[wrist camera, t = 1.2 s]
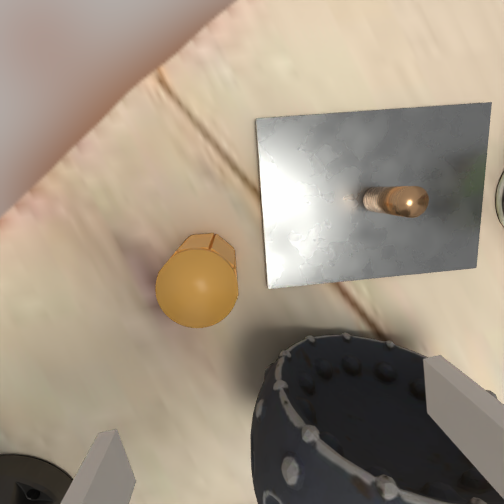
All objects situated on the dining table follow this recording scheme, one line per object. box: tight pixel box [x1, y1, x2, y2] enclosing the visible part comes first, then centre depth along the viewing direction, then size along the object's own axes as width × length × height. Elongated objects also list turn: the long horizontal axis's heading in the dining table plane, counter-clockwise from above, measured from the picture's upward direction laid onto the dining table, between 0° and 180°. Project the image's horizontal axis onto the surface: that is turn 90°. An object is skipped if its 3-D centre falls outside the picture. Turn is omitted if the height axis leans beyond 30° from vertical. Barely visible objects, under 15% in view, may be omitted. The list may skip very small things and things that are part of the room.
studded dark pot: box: [251, 333, 504, 504], centre depth 23 cm, size 11×20×20 cm, turn 84°
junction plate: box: [255, 102, 492, 289], centre depth 26 cm, size 22×16×7 cm
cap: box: [155, 233, 239, 328], centre depth 25 cm, size 6×6×8 cm
